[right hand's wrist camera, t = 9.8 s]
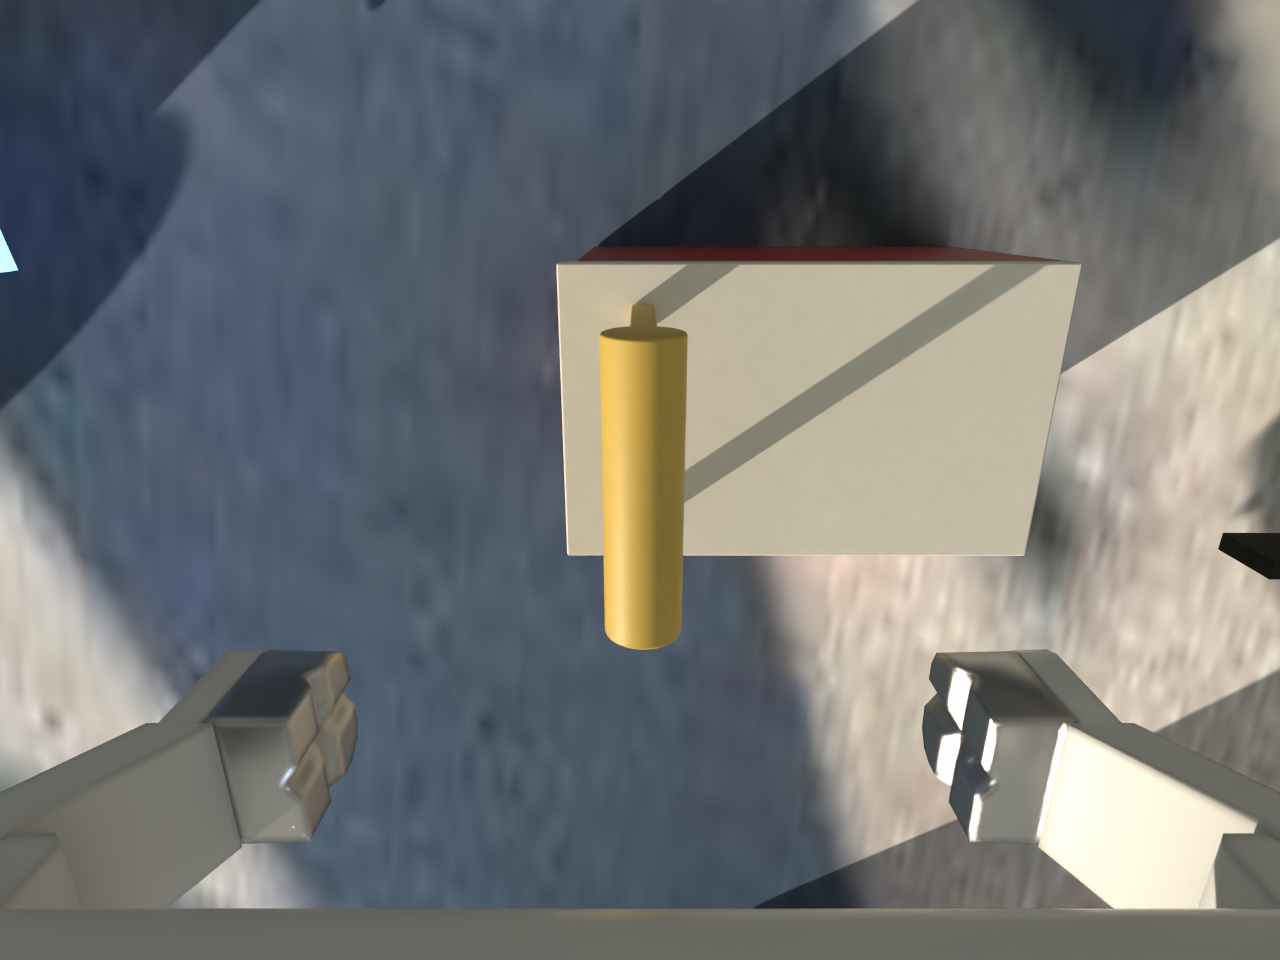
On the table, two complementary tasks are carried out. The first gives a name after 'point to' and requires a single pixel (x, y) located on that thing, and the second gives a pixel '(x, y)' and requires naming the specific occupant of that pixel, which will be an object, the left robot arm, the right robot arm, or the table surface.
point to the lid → (800, 413)
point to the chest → (797, 254)
